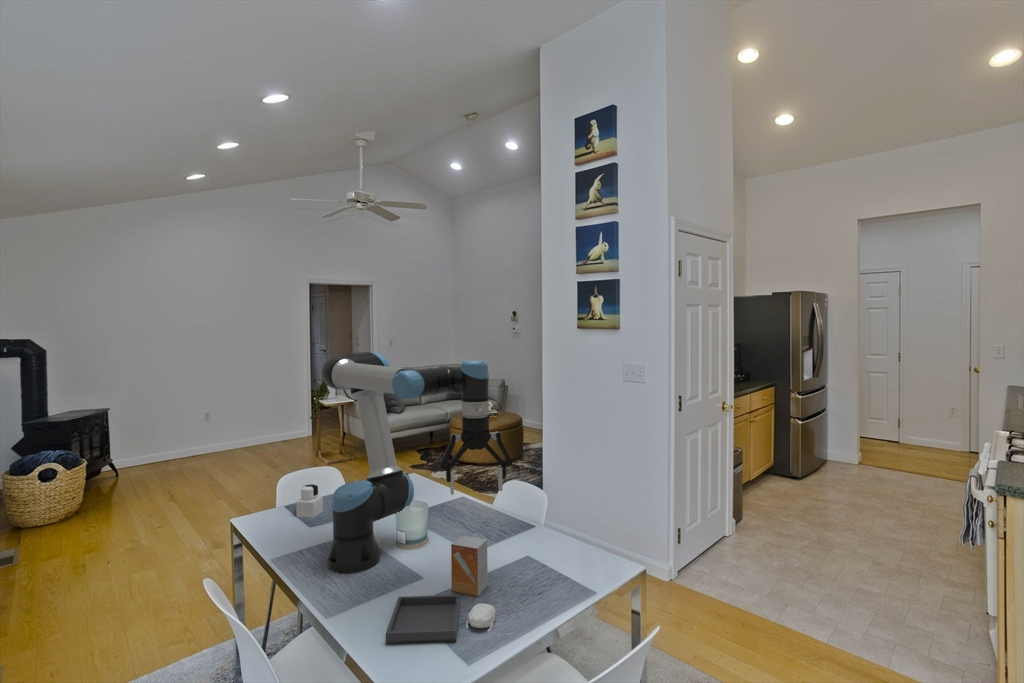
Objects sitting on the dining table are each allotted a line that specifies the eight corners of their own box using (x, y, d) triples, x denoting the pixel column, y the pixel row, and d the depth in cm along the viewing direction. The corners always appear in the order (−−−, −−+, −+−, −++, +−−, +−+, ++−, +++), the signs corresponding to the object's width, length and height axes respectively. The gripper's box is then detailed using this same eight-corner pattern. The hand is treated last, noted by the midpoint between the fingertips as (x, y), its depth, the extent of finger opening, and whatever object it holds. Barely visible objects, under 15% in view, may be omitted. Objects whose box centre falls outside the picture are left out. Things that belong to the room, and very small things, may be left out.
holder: (385, 644, 112) (385, 633, 112) (398, 606, 128) (398, 596, 128) (455, 641, 113) (455, 630, 113) (460, 604, 128) (459, 594, 128)
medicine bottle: (306, 513, 195) (305, 482, 195) (323, 514, 194) (323, 483, 194) (296, 520, 188) (295, 488, 188) (313, 520, 187) (313, 489, 187)
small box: (451, 591, 135) (450, 543, 135) (462, 580, 141) (461, 534, 140) (478, 597, 132) (477, 548, 132) (488, 585, 138) (487, 538, 137)
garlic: (489, 635, 115) (489, 619, 115) (462, 631, 117) (461, 615, 117) (499, 616, 123) (499, 601, 123) (473, 612, 125) (473, 597, 125)
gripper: (430, 420, 134) (431, 499, 134) (521, 416, 139) (522, 492, 139) (429, 415, 141) (430, 490, 142) (516, 411, 146) (517, 484, 147)
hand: (476, 491), depth 140 cm, fingers open, 13 cm apart
